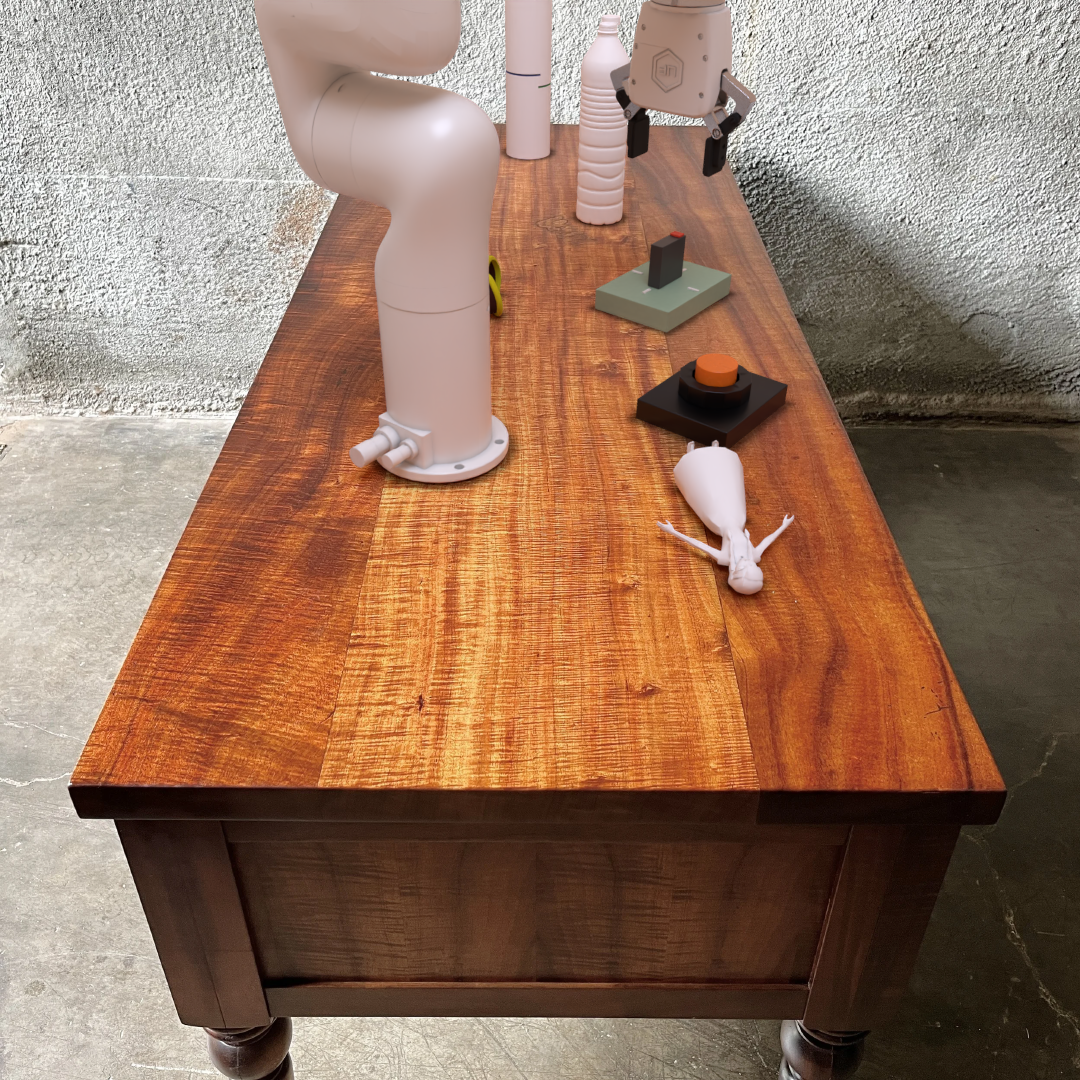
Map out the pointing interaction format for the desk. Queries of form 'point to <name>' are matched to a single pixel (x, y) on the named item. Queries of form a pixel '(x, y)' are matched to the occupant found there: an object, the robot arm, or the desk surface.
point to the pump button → (716, 370)
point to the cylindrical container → (528, 77)
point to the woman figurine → (722, 512)
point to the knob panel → (662, 295)
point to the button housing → (711, 406)
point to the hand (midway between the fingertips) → (674, 164)
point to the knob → (666, 260)
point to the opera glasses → (495, 287)
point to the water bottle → (601, 130)
